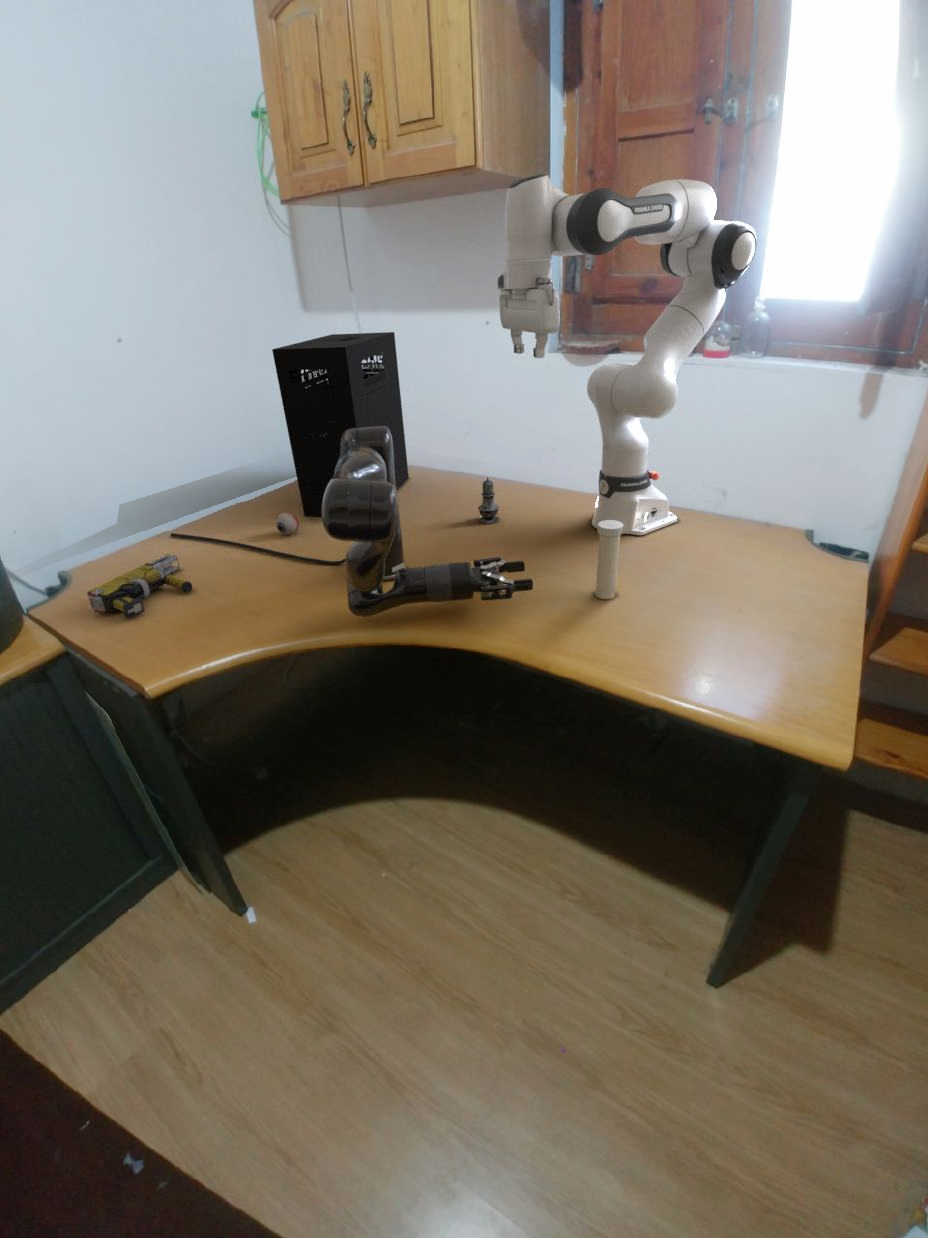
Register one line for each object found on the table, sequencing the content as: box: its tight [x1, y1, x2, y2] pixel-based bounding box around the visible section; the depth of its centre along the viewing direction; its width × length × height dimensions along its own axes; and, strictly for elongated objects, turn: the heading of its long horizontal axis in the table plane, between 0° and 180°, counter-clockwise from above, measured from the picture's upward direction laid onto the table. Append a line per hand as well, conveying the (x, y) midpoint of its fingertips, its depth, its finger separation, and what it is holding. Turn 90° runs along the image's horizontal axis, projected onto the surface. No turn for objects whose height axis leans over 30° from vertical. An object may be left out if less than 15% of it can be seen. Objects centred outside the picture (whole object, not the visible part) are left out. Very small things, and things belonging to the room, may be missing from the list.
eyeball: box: [275, 511, 300, 536], centre depth 163 cm, size 6×6×6 cm
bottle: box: [595, 534, 621, 600], centre depth 122 cm, size 4×4×15 cm
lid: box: [596, 520, 623, 537], centre depth 119 cm, size 5×5×2 cm
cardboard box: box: [271, 331, 410, 517], centre depth 180 cm, size 38×20×45 cm, turn 167°
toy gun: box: [86, 553, 193, 620], centre depth 136 cm, size 5×24×15 cm
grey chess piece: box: [477, 477, 500, 524], centre depth 164 cm, size 6×6×12 cm
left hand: (528, 574), depth 121 cm, fingers open, 8 cm apart
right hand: (528, 355), depth 124 cm, fingers open, 8 cm apart
